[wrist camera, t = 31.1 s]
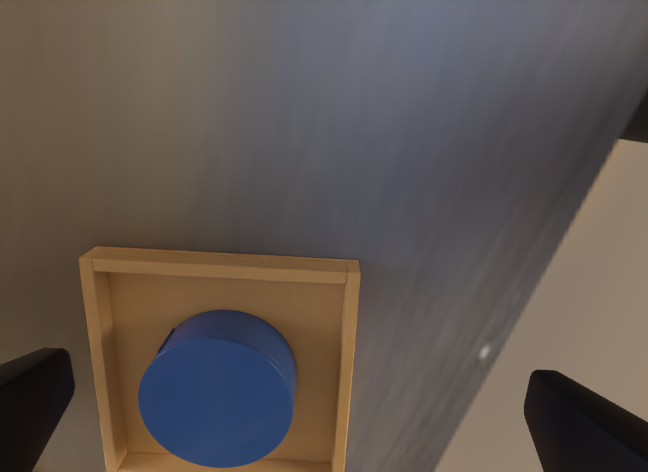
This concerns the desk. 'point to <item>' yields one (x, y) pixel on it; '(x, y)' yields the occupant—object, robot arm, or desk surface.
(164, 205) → the desk surface
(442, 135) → the desk surface
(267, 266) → the tray
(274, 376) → the jar lid
